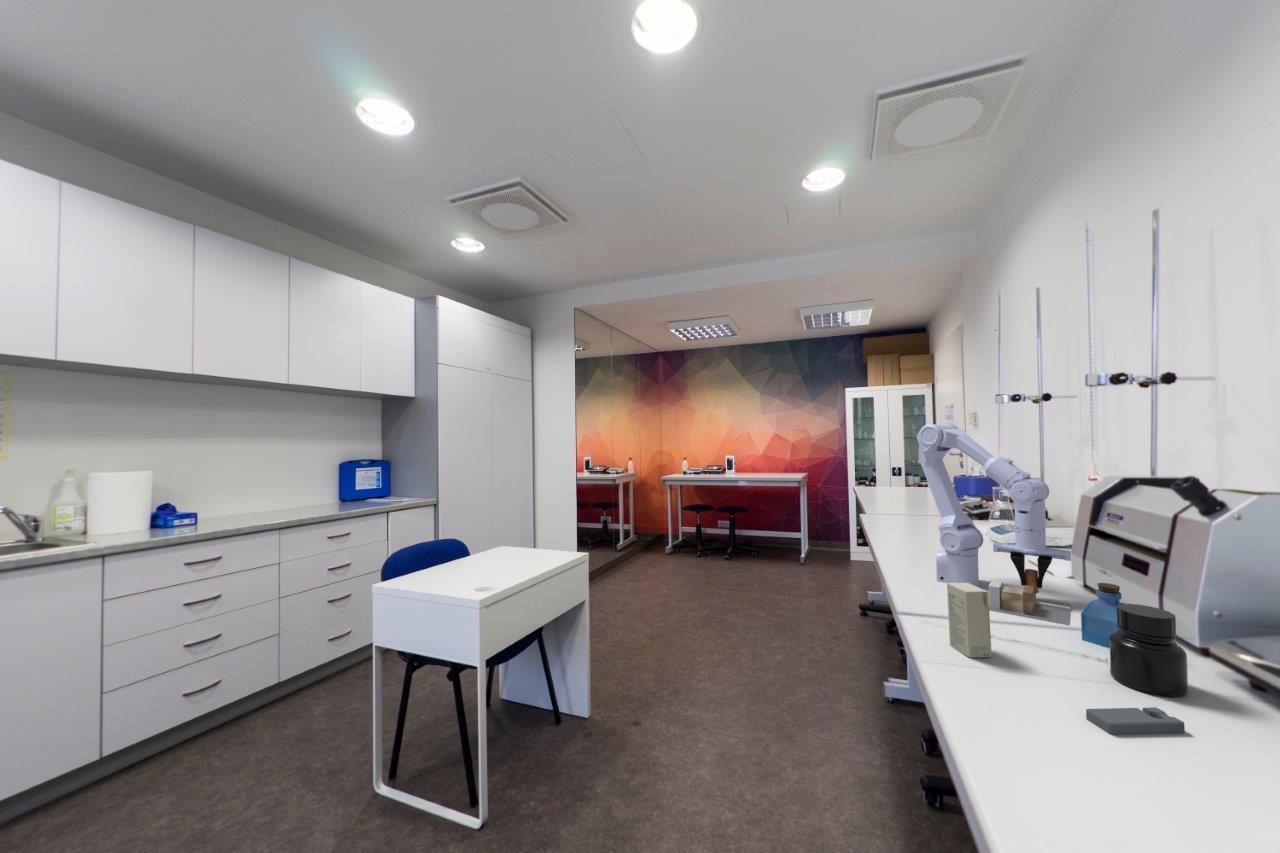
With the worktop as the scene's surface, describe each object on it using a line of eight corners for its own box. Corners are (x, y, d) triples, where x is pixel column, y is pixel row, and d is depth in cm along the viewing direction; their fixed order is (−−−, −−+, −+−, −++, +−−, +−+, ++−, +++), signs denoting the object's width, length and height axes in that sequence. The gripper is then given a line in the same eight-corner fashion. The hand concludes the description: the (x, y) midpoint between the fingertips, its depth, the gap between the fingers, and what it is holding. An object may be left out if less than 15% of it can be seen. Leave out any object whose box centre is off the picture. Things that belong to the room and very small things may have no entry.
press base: (987, 614, 112) (987, 587, 112) (997, 596, 124) (996, 572, 124) (1069, 630, 102) (1068, 601, 102) (1071, 608, 114) (1070, 582, 114)
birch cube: (1001, 608, 112) (1001, 591, 112) (1003, 603, 115) (1003, 586, 115) (1023, 612, 110) (1023, 594, 110) (1025, 607, 113) (1024, 590, 113)
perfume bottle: (1082, 645, 95) (1080, 583, 95) (1098, 639, 98) (1096, 578, 98) (1124, 658, 90) (1121, 592, 90) (1140, 651, 92) (1137, 587, 92)
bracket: (1085, 721, 72) (1084, 708, 72) (1156, 720, 72) (1156, 706, 72) (1110, 738, 68) (1110, 724, 68) (1186, 736, 68) (1185, 722, 68)
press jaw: (1021, 612, 109) (1020, 581, 109) (1026, 596, 119) (1025, 568, 119) (1034, 614, 108) (1033, 583, 108) (1039, 598, 117) (1038, 570, 118)
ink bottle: (1154, 671, 85) (1152, 601, 85) (1208, 699, 76) (1206, 621, 76) (1093, 670, 86) (1091, 601, 86) (1139, 697, 77) (1137, 620, 77)
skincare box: (992, 658, 91) (990, 592, 91) (968, 658, 91) (967, 592, 91) (970, 643, 97) (968, 581, 97) (947, 643, 97) (946, 581, 97)
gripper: (990, 528, 119) (992, 584, 119) (1069, 535, 110) (1071, 596, 110) (994, 523, 125) (996, 577, 125) (1070, 530, 115) (1072, 588, 115)
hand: (1031, 585), depth 117 cm, fingers closed on press jaw, 2 cm apart
